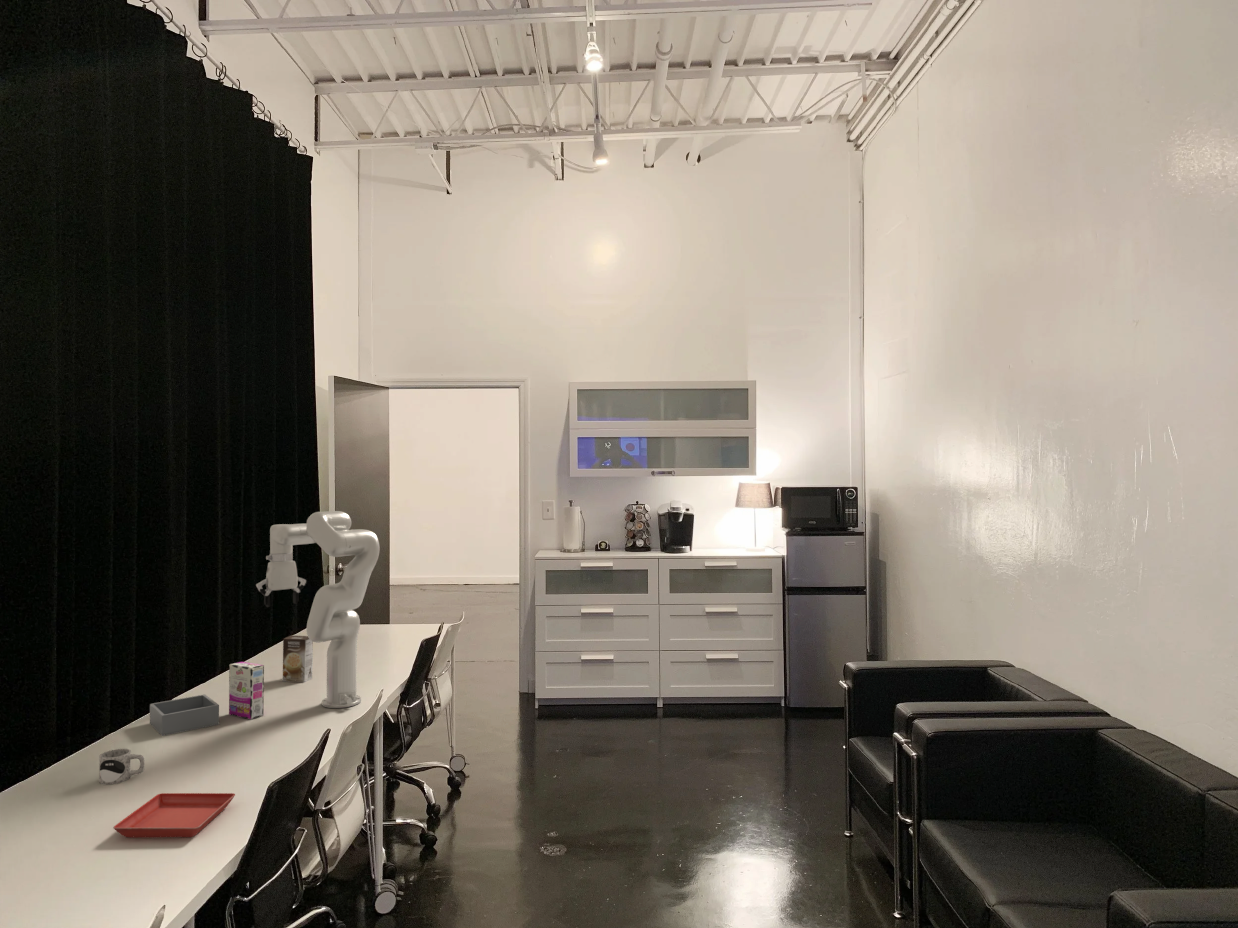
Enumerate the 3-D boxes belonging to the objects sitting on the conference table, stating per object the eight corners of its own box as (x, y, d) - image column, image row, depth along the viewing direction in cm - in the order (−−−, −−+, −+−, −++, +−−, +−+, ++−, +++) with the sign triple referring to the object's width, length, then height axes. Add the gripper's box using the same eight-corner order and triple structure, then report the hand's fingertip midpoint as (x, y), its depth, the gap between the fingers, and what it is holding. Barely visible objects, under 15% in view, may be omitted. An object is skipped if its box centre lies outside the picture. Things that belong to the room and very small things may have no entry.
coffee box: (281, 681, 289) (281, 638, 289) (290, 677, 295) (290, 634, 295) (304, 682, 288) (305, 639, 288) (313, 677, 294) (313, 635, 294)
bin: (218, 724, 240) (219, 704, 240) (161, 735, 229) (162, 715, 230) (204, 712, 252) (204, 694, 252) (149, 723, 241) (149, 703, 241)
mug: (94, 785, 193) (95, 759, 193) (104, 775, 200) (105, 749, 200) (140, 781, 196) (140, 755, 196) (148, 771, 202) (148, 746, 202)
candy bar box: (264, 715, 249) (265, 664, 249) (250, 719, 244) (251, 668, 244) (241, 710, 254) (242, 660, 254) (228, 714, 249) (228, 663, 250)
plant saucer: (236, 805, 183) (236, 791, 183) (197, 842, 165) (197, 826, 165) (158, 806, 182) (158, 792, 182) (111, 843, 164) (111, 827, 164)
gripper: (259, 560, 274) (259, 609, 274) (309, 556, 285) (309, 603, 285) (253, 559, 280) (253, 606, 279) (302, 555, 291) (302, 601, 291)
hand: (281, 604), depth 282 cm, fingers open, 9 cm apart
